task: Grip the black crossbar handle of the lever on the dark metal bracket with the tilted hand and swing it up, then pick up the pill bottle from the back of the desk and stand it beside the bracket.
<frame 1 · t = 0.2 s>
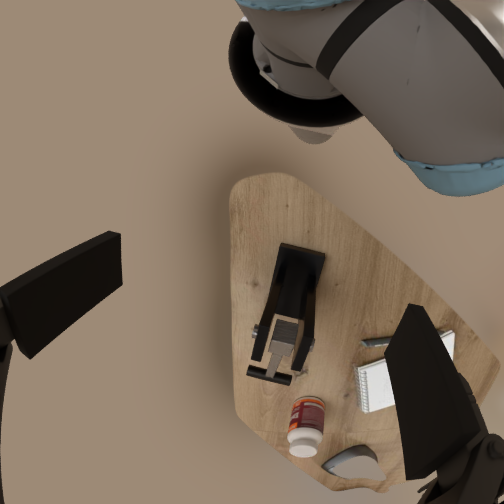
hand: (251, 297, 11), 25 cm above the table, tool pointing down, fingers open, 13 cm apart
lever: (275, 359, 30), point 11 cm above the table, hinge at -25.0°
pill bottle: (308, 404, 46), on the table
bracket: (294, 281, 38), on the table
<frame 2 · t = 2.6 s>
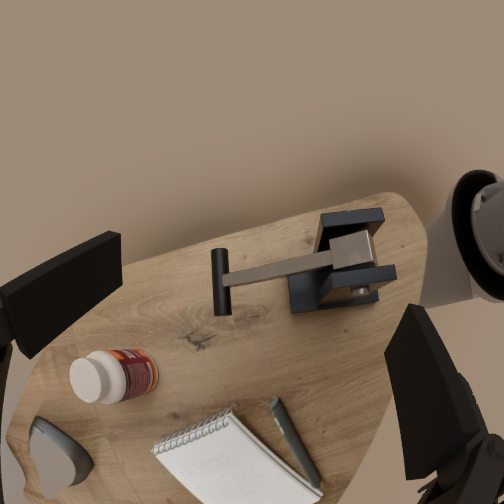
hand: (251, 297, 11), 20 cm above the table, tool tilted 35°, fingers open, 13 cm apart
lever: (283, 269, 21), point 11 cm above the table, hinge at -25.0°
pill bottle: (140, 371, 31), on the table
bracket: (331, 282, 31), on the table
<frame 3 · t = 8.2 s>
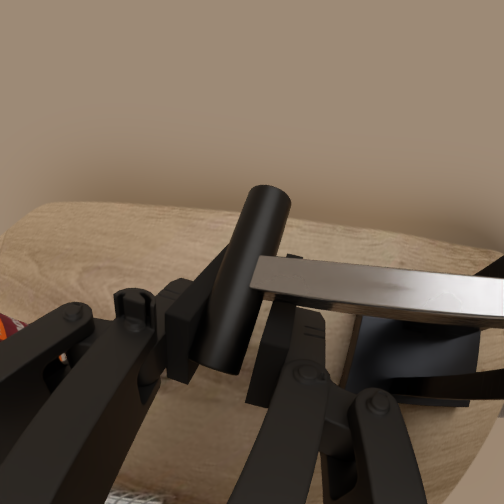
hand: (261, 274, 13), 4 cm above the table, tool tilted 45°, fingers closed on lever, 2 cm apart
lever: (456, 300, 5), point 11 cm above the table, hinge at -22.4°, touching gripper
pill bottle: (45, 368, 15), on the table
bracket: (415, 359, 14), on the table
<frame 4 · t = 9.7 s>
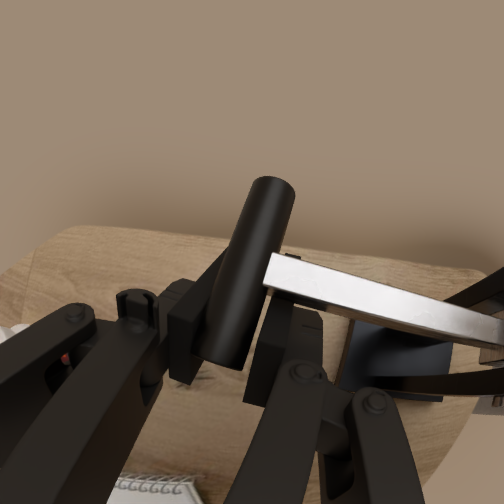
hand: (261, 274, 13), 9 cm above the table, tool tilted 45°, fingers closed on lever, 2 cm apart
lever: (427, 317, 8), point 13 cm above the table, hinge at 2.4°, touching gripper
pill bottle: (86, 374, 19), on the table
bracket: (396, 362, 19), on the table
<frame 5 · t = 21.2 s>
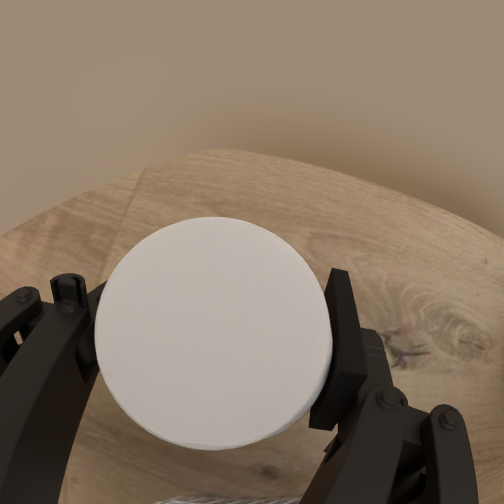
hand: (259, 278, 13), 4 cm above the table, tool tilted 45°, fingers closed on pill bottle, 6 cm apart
pill bottle: (244, 357, 15), on the table, touching gripper
when the fingers open (4 cm above the table, at t = 31.2 s): pill bottle stays where it is, on the table.
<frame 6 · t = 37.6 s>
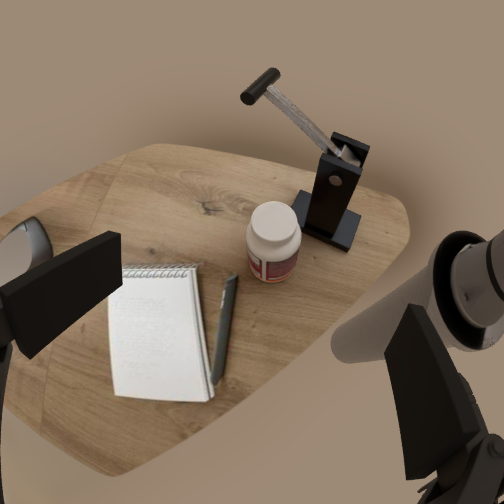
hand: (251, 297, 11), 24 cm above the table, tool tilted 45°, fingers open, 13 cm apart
lever: (307, 125, 26), point 16 cm above the table, hinge at 35.3°
pill bottle: (271, 262, 37), on the table
bracket: (322, 222, 39), on the table
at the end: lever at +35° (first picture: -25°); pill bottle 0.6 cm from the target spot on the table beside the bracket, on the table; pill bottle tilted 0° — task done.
